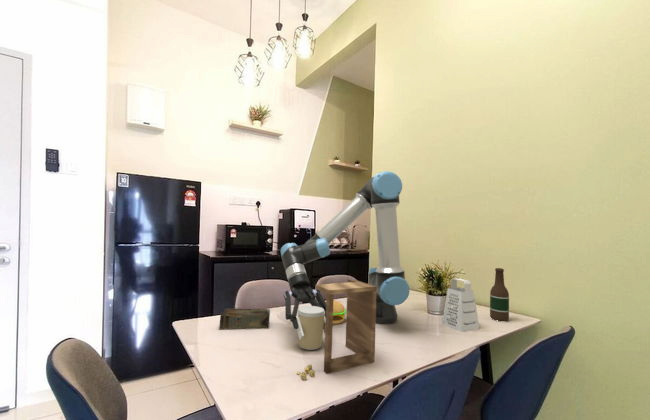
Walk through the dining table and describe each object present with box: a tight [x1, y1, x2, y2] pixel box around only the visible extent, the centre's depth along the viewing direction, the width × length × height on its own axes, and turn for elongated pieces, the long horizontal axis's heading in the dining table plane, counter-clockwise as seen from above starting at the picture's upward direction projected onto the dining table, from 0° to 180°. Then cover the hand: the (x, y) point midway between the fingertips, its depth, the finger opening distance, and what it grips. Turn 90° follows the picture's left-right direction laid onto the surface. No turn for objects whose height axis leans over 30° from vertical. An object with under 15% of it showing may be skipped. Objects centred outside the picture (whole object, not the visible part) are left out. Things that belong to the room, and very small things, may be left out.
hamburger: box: [333, 300, 347, 325], centre depth 131 cm, size 12×12×9 cm
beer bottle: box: [489, 267, 510, 322], centre depth 143 cm, size 8×8×24 cm
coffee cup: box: [297, 305, 325, 351], centre depth 102 cm, size 9×9×12 cm
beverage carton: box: [219, 308, 271, 330], centre depth 121 cm, size 8×19×7 cm, turn 100°
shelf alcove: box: [314, 278, 377, 374], centre depth 95 cm, size 17×14×23 cm
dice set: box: [295, 364, 316, 381], centre depth 83 cm, size 5×5×2 cm
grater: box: [441, 278, 480, 332], centre depth 130 cm, size 10×10×20 cm
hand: (314, 335), depth 99 cm, fingers closed on coffee cup, 9 cm apart
